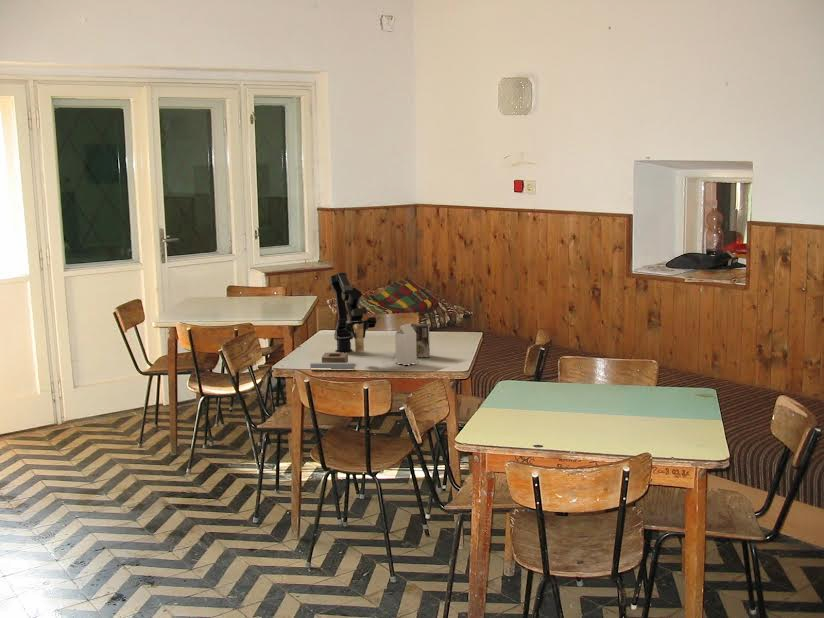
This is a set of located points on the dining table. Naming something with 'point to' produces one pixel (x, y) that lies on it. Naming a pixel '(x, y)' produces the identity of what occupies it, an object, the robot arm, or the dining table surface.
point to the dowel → (359, 338)
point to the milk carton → (405, 345)
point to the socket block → (335, 358)
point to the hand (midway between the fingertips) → (359, 338)
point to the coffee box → (422, 339)
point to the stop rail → (333, 365)
